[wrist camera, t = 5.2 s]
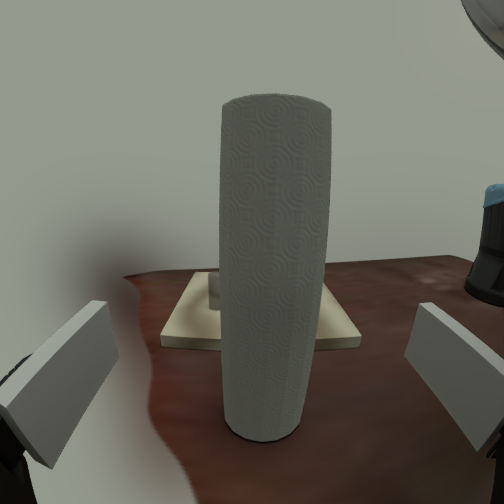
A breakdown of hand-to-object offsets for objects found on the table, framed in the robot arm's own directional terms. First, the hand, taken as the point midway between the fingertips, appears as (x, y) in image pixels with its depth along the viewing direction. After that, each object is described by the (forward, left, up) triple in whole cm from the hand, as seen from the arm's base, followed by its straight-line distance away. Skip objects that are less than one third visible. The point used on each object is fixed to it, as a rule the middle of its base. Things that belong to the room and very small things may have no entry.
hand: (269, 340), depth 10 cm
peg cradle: (-1, -26, -11) cm, 29 cm away
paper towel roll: (-1, -6, -11) cm, 13 cm away
